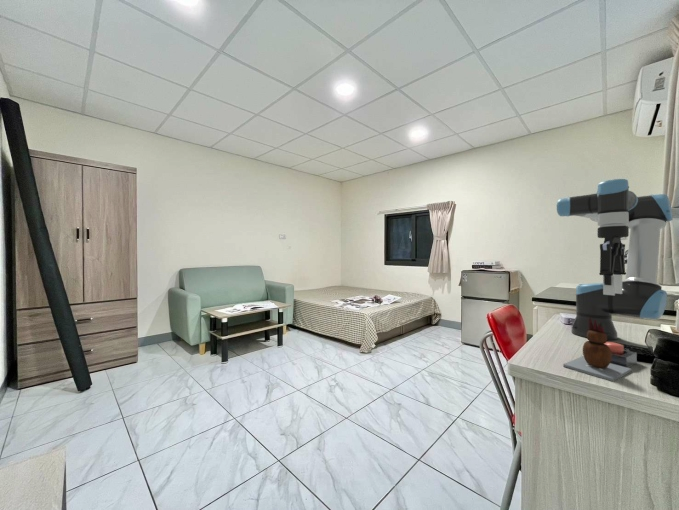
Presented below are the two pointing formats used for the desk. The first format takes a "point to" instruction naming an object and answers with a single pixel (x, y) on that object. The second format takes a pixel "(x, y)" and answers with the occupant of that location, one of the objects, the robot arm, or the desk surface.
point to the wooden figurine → (596, 347)
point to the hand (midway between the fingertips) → (612, 294)
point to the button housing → (624, 359)
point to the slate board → (598, 369)
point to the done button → (615, 348)
